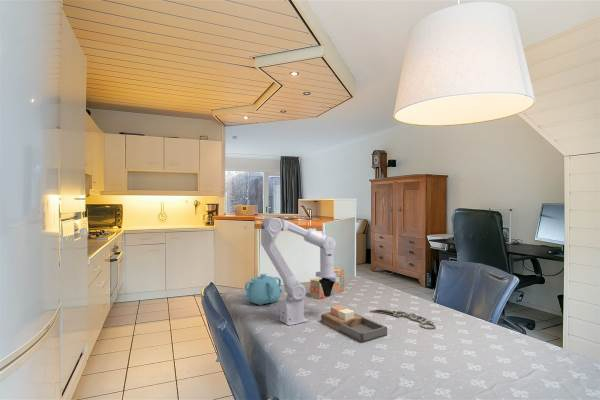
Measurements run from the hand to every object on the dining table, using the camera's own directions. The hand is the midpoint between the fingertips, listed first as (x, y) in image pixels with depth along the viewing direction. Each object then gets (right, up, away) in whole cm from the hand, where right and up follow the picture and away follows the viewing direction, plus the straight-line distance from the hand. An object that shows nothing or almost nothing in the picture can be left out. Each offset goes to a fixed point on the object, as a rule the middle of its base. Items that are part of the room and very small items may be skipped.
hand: (327, 296), depth 140 cm
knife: (+31, -9, -3) cm, 33 cm away
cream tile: (+6, -5, -11) cm, 14 cm away
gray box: (+11, -8, -19) cm, 24 cm away
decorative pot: (-29, -9, +22) cm, 38 cm away
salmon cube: (+4, -5, -6) cm, 9 cm away
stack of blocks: (+3, -9, +35) cm, 36 cm away
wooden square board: (+5, -8, -9) cm, 13 cm away
